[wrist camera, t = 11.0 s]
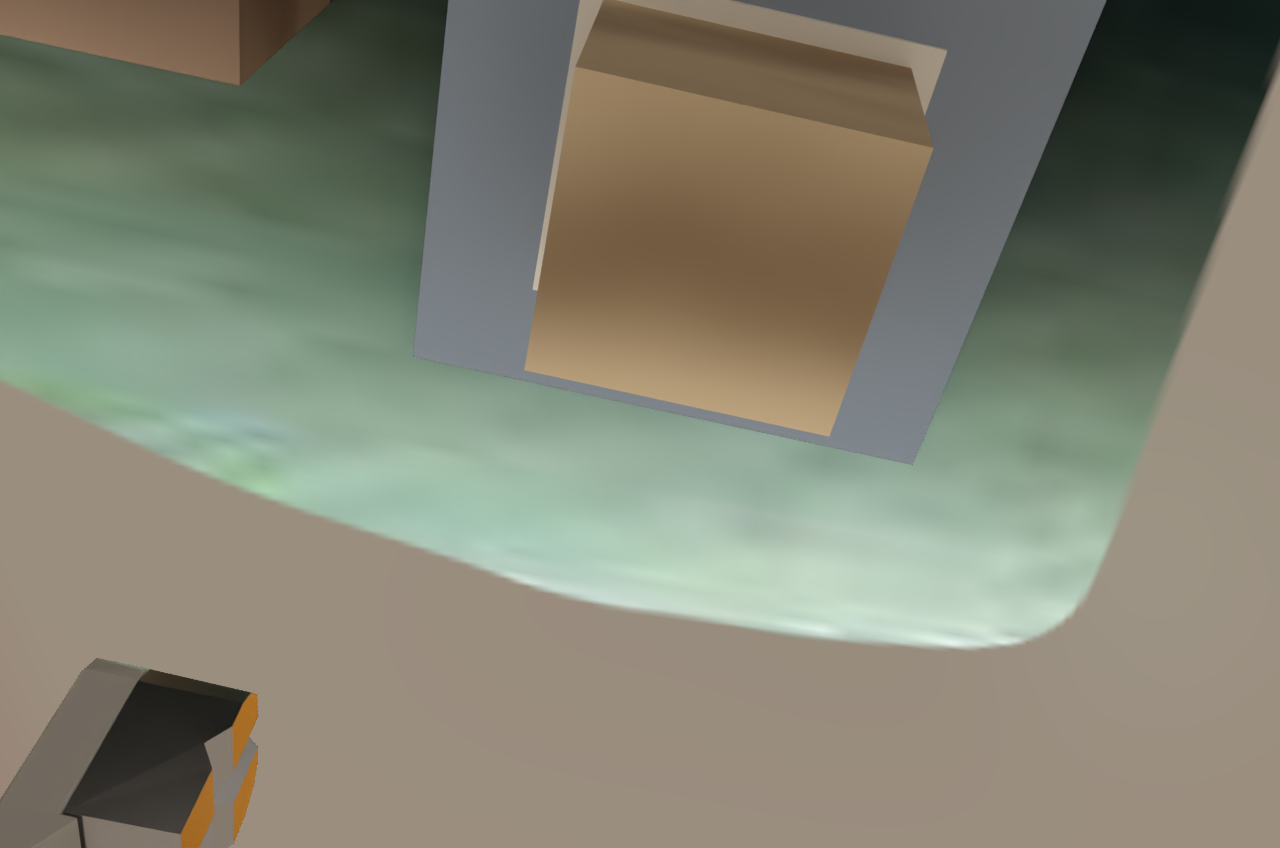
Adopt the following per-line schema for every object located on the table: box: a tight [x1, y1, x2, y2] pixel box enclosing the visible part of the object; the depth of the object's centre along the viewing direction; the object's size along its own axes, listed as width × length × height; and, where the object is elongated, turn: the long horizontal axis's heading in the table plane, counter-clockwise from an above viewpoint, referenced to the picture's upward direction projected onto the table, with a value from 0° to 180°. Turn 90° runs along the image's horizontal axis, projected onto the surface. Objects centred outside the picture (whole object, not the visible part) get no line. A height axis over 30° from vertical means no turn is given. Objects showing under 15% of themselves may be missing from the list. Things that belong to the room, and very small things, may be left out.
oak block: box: [524, 0, 934, 437], centre depth 23 cm, size 6×6×4 cm
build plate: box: [413, 0, 1106, 465], centre depth 25 cm, size 12×12×1 cm
